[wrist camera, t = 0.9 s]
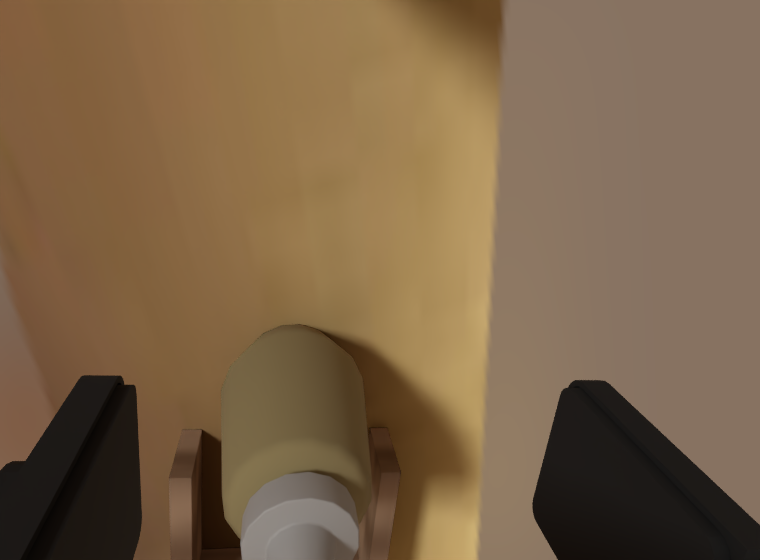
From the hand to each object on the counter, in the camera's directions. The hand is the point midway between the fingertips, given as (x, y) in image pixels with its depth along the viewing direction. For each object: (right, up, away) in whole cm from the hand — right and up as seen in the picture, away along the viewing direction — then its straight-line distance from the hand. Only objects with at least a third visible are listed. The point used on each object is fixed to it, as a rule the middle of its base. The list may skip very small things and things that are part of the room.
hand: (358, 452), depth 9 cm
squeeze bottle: (-5, -2, +25) cm, 26 cm away
